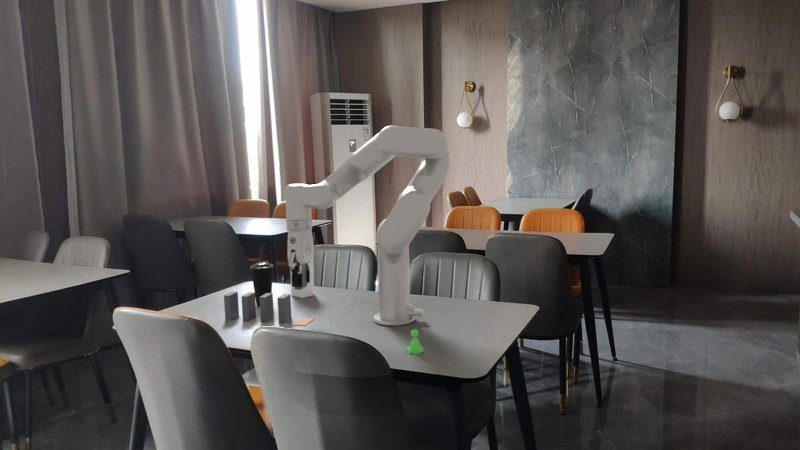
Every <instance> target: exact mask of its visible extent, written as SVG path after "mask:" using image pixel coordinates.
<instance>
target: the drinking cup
mask: <svg viewBox="0 0 800 450" xmlns="http://www.w3.org/2000/svg"><path fill="white" fill-rule="evenodd" d="M259 251H260V252H259V253H260V254H259V255H260V261H259V262H256V263H254V264H252V265H250V269H251V275H252V282H253V283H252V284H253V291H254V293H255V302H256V308H257V307H259V308H260V300H259V297H260V296H262V295H264V294H266V293H273V289H272V288H273V271H274V264H272V263H269V262H266V261H263V259H264V258H263V247H262V246H260V247H259Z"/></svg>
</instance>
